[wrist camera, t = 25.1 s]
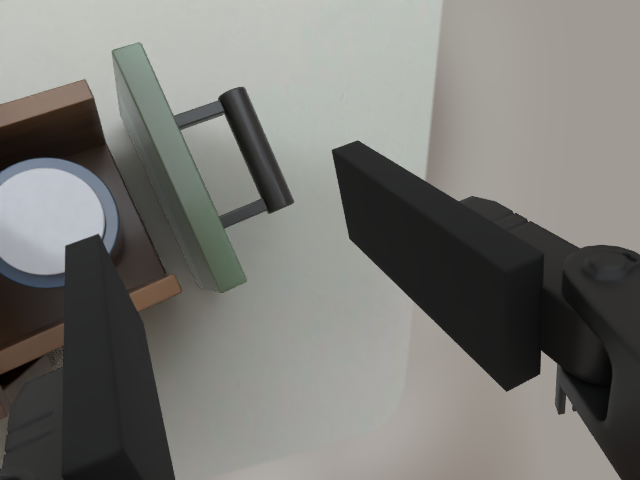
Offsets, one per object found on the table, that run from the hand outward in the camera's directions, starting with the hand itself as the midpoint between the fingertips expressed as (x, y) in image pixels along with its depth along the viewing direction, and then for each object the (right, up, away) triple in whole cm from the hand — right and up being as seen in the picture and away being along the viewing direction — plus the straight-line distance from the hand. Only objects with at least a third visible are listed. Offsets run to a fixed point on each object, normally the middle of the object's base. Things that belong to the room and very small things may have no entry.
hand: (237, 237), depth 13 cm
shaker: (-10, 0, +13) cm, 17 cm away
